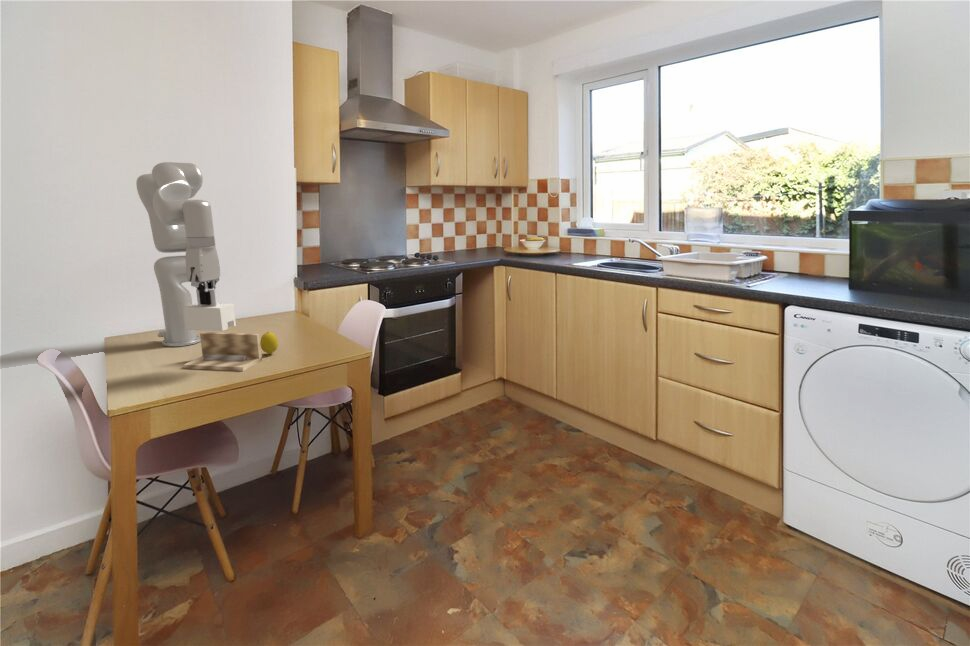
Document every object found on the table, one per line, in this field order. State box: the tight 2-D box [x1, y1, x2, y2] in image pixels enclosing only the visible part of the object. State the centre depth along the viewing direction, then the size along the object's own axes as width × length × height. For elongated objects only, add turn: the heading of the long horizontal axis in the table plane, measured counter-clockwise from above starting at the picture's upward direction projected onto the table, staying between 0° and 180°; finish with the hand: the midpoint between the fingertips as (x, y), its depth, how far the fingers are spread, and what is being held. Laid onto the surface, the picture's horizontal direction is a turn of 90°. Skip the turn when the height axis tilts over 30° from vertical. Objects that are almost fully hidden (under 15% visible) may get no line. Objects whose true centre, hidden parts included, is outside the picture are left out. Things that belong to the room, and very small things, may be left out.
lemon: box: [260, 331, 279, 355], centre depth 185 cm, size 6×6×8 cm
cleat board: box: [182, 331, 263, 372], centre depth 174 cm, size 20×11×9 cm, turn 82°
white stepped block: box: [183, 288, 237, 332], centre depth 166 cm, size 12×7×12 cm, turn 82°
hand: (208, 303), depth 166 cm, fingers closed on white stepped block, 1 cm apart
